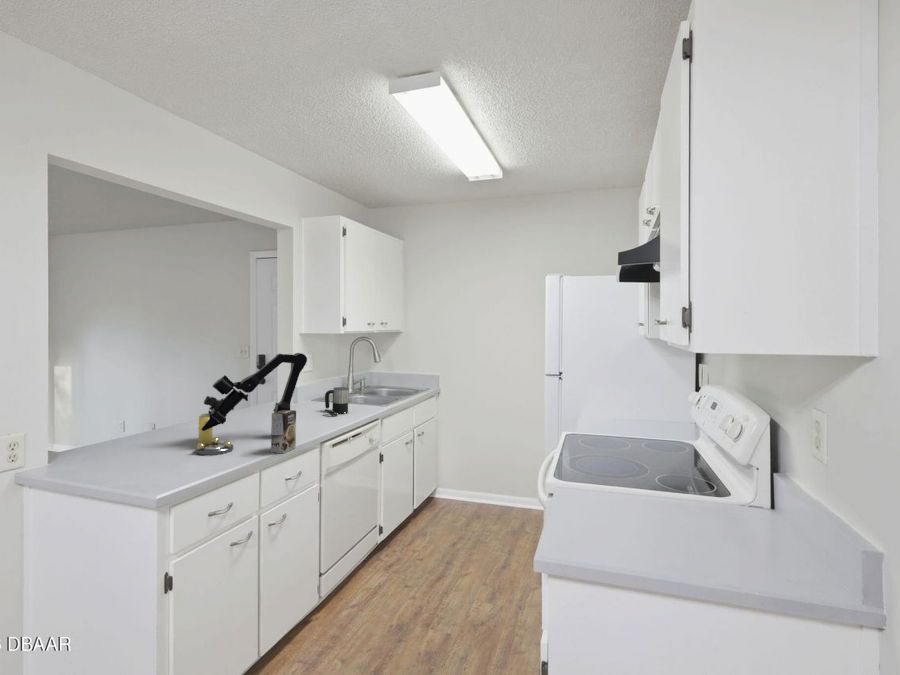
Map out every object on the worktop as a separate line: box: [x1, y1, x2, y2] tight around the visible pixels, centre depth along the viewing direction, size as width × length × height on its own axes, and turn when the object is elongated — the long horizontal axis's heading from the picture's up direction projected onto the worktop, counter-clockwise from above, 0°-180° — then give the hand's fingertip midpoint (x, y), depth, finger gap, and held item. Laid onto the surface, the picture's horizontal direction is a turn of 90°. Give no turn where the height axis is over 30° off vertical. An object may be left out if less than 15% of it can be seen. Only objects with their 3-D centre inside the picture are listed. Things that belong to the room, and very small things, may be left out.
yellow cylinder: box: [198, 413, 213, 445], centre depth 205 cm, size 5×5×13 cm
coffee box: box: [270, 409, 297, 454], centre depth 197 cm, size 9×6×16 cm
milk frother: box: [324, 386, 350, 416], centre depth 277 cm, size 14×16×15 cm
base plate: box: [194, 437, 234, 456], centre depth 194 cm, size 14×14×4 cm
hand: (201, 428), depth 204 cm, fingers closed on yellow cylinder, 5 cm apart
